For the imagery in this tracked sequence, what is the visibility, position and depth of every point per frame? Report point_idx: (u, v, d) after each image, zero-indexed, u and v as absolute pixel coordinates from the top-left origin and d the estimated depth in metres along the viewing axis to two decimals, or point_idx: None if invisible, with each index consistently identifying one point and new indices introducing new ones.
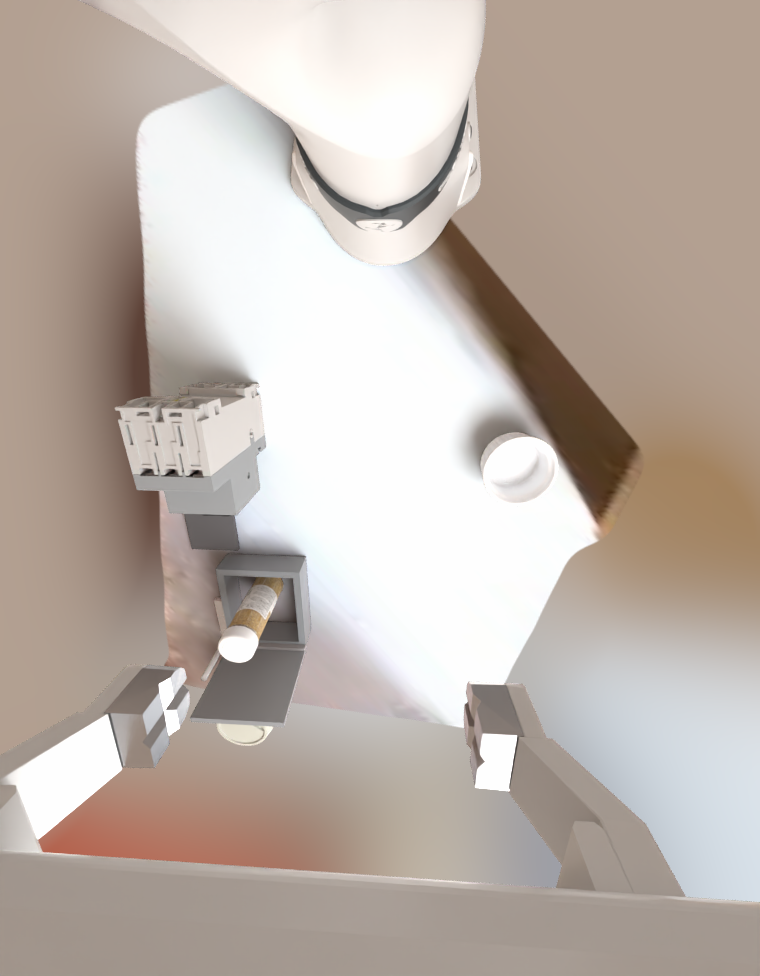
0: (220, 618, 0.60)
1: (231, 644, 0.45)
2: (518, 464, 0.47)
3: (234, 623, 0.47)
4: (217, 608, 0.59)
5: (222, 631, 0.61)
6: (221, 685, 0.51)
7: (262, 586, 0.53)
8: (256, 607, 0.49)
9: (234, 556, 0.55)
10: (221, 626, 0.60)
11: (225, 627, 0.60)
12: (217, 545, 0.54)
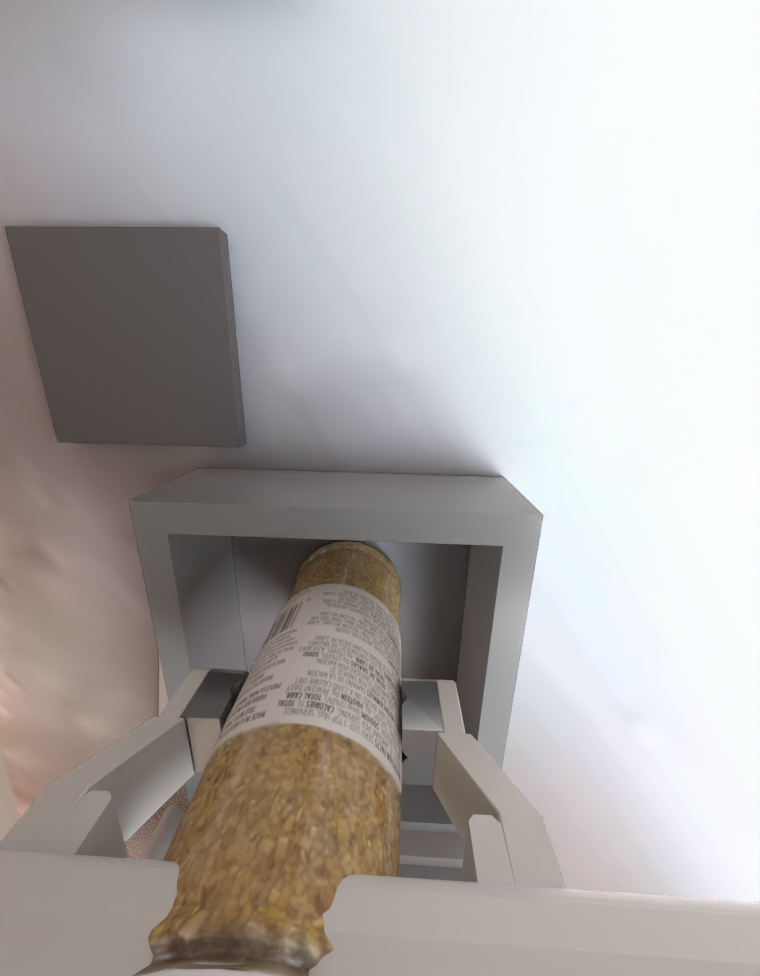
0: None
1: None
2: None
3: (186, 905, 0.05)
4: None
5: None
6: None
7: (347, 591, 0.12)
8: (344, 707, 0.08)
9: (224, 472, 0.14)
10: None
11: None
12: (157, 425, 0.14)
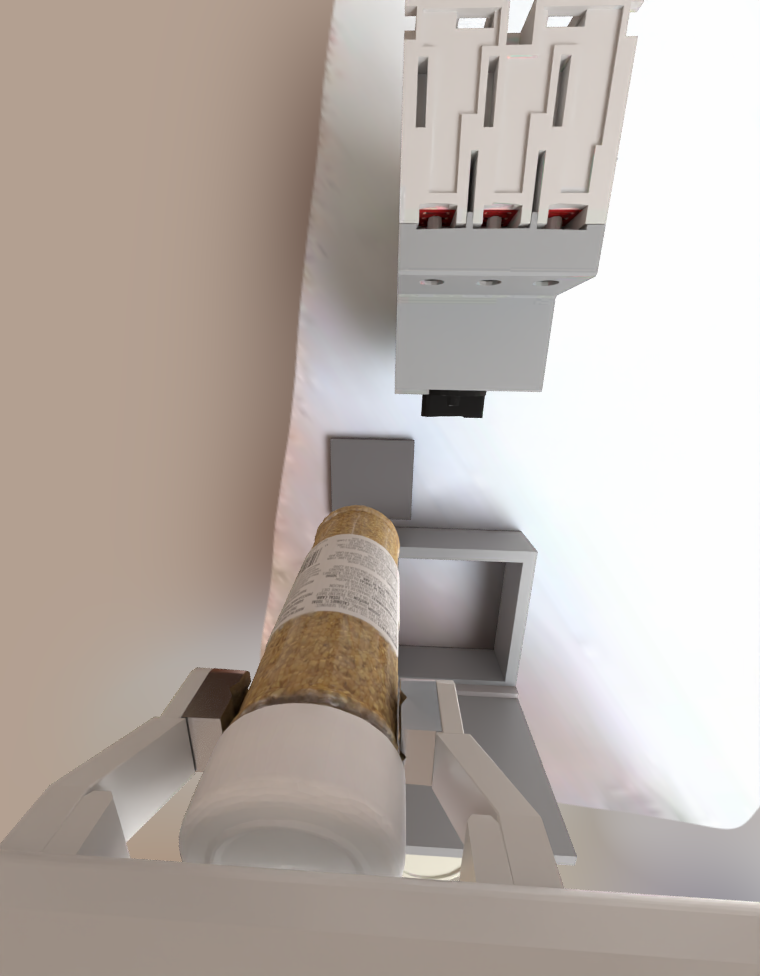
0: None
1: (262, 839, 0.07)
2: None
3: (272, 688, 0.09)
4: None
5: None
6: None
7: (355, 538, 0.15)
8: (356, 603, 0.12)
9: (402, 530, 0.33)
10: None
11: None
12: None
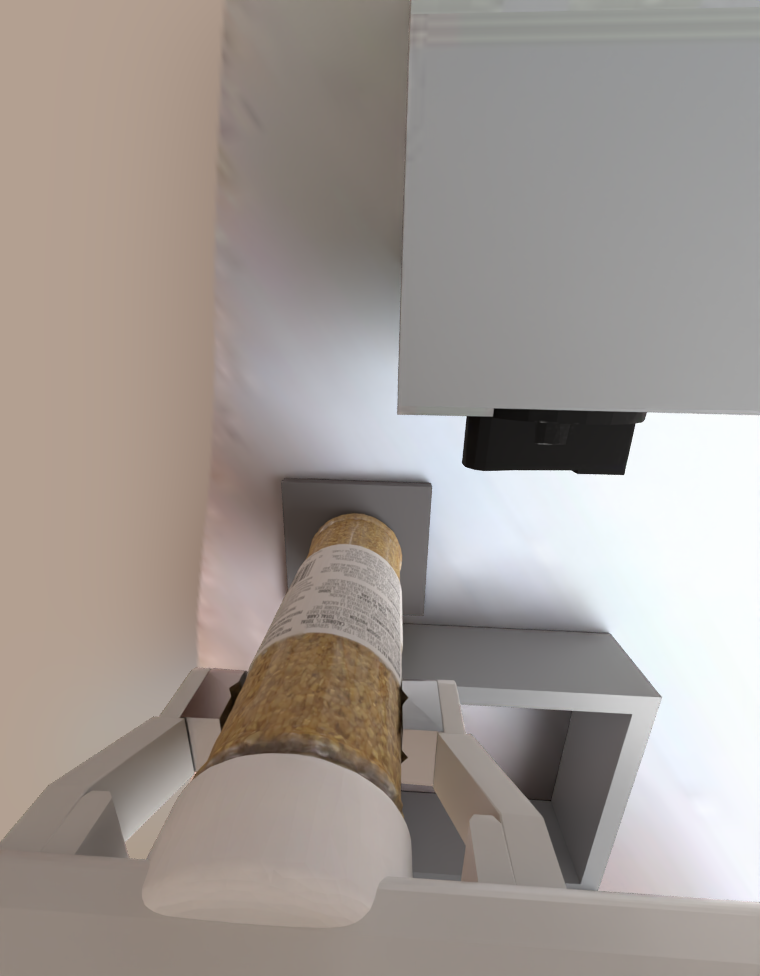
0: None
1: None
2: None
3: (247, 731, 0.07)
4: None
5: None
6: None
7: (353, 549, 0.14)
8: (352, 623, 0.10)
9: (409, 632, 0.19)
10: None
11: None
12: None
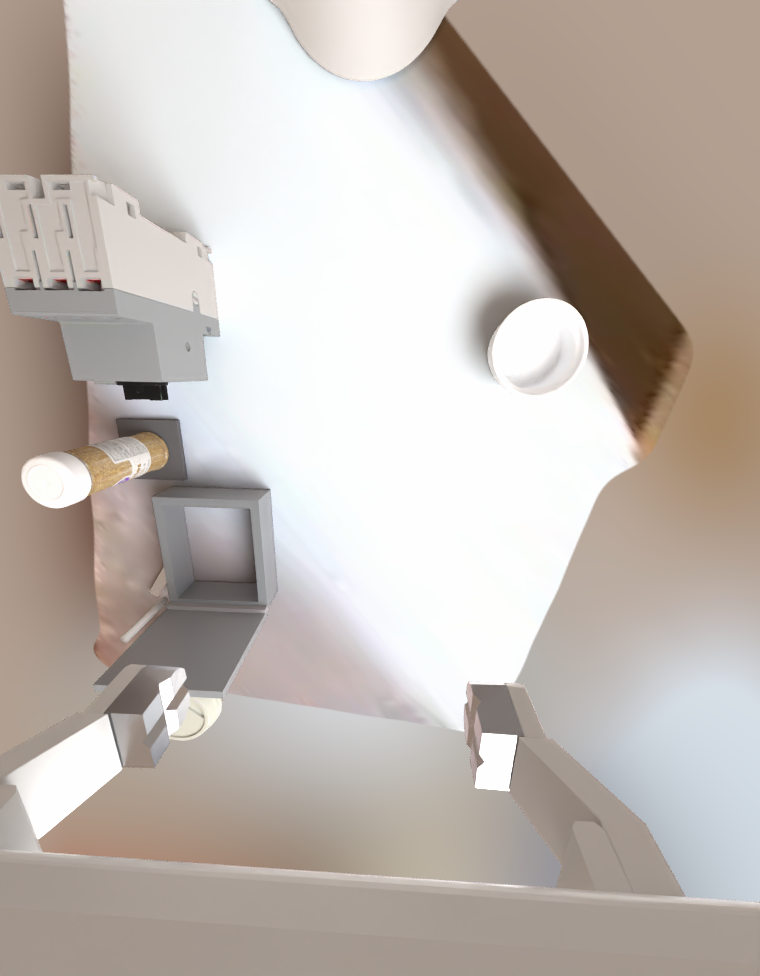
0: (162, 575, 0.47)
1: (38, 471, 0.30)
2: (535, 354, 0.38)
3: None
4: None
5: (153, 590, 0.48)
6: (146, 649, 0.38)
7: (127, 437, 0.38)
8: (102, 446, 0.34)
9: (180, 488, 0.44)
10: (156, 584, 0.48)
11: (160, 588, 0.48)
12: (159, 473, 0.43)
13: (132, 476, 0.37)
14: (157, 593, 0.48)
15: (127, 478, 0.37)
